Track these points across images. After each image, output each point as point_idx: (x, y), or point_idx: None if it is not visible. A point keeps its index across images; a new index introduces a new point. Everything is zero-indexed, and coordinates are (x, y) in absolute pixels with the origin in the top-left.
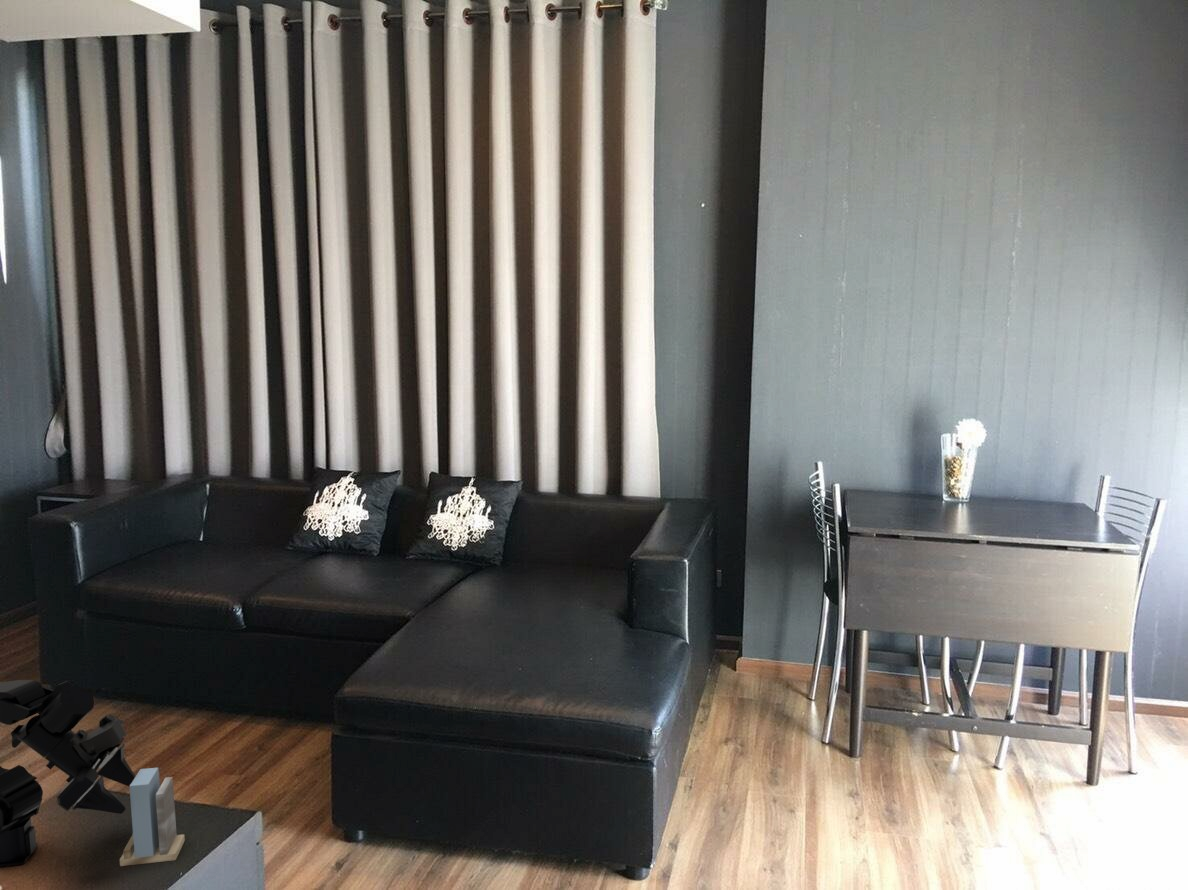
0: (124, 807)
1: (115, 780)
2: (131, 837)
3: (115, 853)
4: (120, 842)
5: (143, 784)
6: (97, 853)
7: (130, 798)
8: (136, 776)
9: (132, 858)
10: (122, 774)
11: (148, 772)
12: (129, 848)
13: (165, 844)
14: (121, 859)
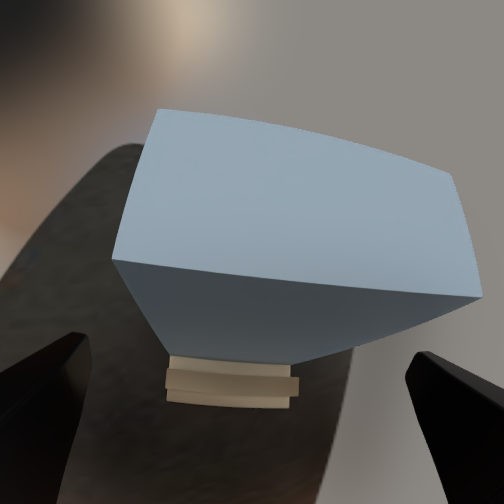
0: (431, 353)
1: (54, 502)
2: (208, 391)
3: (192, 438)
4: (126, 433)
5: (456, 201)
6: (178, 486)
7: (419, 323)
8: (324, 274)
9: (289, 372)
10: (31, 461)
11: (245, 169)
12: (287, 380)
13: None
14: (288, 403)
